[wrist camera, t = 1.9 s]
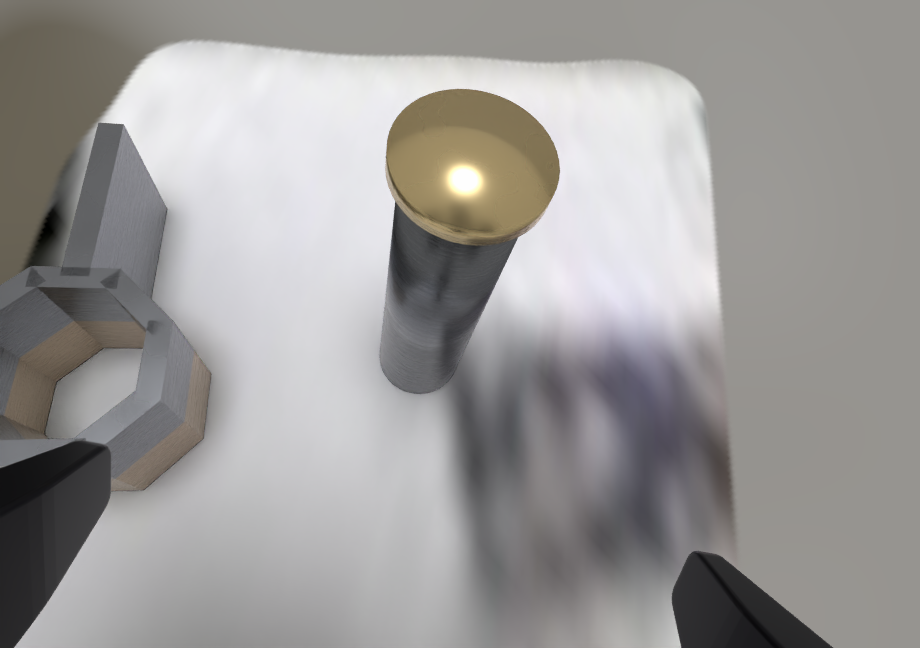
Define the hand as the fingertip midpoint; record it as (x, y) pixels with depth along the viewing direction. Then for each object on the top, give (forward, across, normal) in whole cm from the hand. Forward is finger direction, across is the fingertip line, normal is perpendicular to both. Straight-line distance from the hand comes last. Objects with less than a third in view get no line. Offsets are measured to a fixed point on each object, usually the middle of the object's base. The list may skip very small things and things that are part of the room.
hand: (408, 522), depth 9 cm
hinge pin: (+14, 0, +4) cm, 15 cm away
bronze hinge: (+13, +14, +5) cm, 20 cm away
